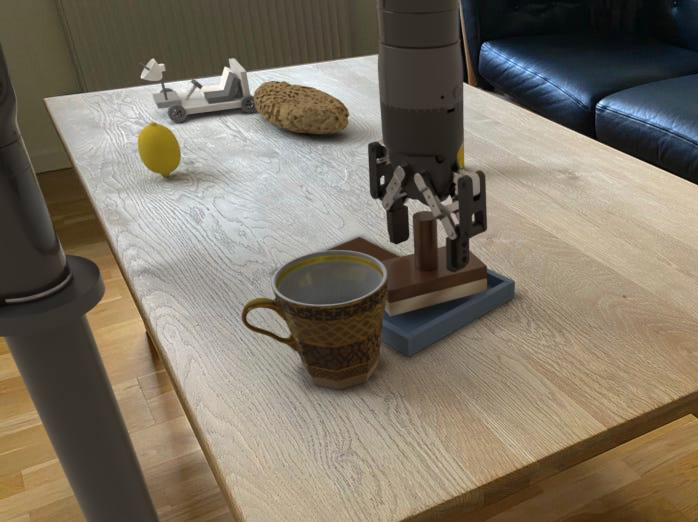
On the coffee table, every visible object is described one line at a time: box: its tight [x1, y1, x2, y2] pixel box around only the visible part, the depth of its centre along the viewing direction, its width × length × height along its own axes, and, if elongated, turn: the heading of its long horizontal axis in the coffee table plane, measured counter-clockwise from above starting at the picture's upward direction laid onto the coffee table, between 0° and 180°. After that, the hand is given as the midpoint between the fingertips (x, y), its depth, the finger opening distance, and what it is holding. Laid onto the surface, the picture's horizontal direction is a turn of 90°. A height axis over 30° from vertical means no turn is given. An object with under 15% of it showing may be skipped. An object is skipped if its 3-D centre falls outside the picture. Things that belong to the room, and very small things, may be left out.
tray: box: [381, 267, 516, 357], centre depth 78 cm, size 16×11×2 cm
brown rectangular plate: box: [325, 236, 400, 261], centre depth 85 cm, size 12×10×1 cm
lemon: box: [137, 121, 182, 178], centre depth 105 cm, size 6×6×8 cm
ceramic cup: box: [241, 250, 388, 391], centre depth 66 cm, size 13×10×10 cm
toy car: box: [138, 57, 257, 124], centre depth 130 cm, size 18×10×12 cm
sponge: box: [253, 80, 350, 135], centre depth 124 cm, size 13×8×20 cm
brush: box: [380, 210, 488, 316], centre depth 75 cm, size 11×6×8 cm, turn 118°
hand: (427, 254), depth 75 cm, fingers open, 8 cm apart
